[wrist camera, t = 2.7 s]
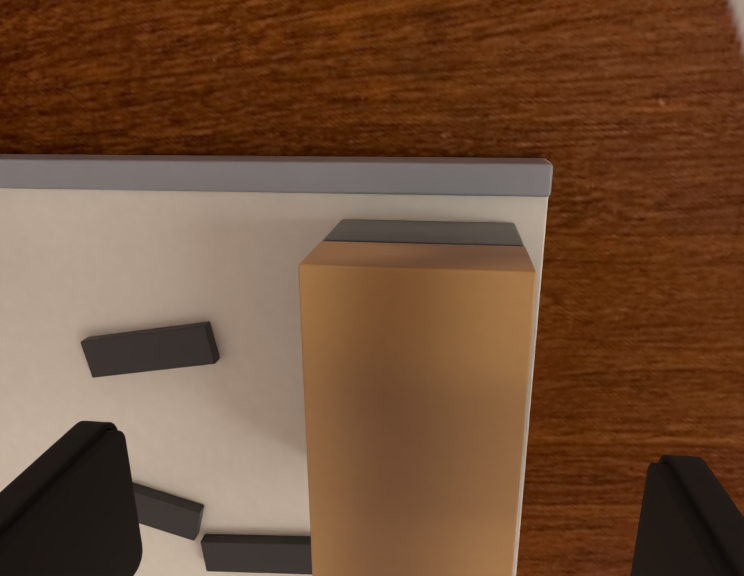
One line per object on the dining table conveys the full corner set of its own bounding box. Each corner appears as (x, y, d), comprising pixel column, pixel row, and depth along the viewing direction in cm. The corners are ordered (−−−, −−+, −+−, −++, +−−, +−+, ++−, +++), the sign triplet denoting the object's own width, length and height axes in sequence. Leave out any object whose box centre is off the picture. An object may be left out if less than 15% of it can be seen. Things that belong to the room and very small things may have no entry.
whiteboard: (545, 157, 16) (553, 163, 14) (501, 699, 21) (504, 739, 20) (-73, 153, 18) (-115, 158, 17) (40, 641, 24) (15, 673, 22)
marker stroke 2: (205, 504, 19) (200, 512, 19) (199, 533, 20) (193, 542, 19) (89, 467, 19) (81, 475, 19) (85, 496, 20) (78, 504, 19)
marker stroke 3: (322, 535, 19) (320, 544, 19) (327, 566, 19) (324, 575, 19) (204, 533, 20) (199, 541, 19) (210, 562, 20) (206, 572, 20)
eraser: (515, 222, 15) (537, 272, 11) (497, 490, 18) (509, 615, 13) (340, 218, 16) (297, 264, 11) (346, 477, 18) (312, 594, 14)
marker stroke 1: (210, 320, 17) (204, 325, 17) (220, 358, 18) (215, 364, 17) (87, 336, 18) (79, 341, 18) (99, 372, 18) (91, 378, 18)
